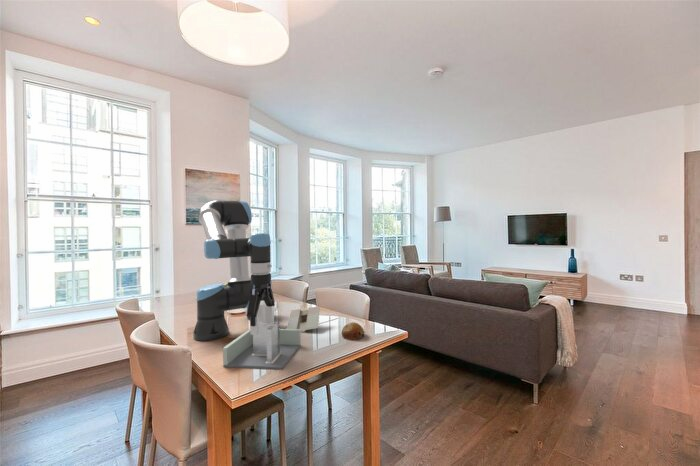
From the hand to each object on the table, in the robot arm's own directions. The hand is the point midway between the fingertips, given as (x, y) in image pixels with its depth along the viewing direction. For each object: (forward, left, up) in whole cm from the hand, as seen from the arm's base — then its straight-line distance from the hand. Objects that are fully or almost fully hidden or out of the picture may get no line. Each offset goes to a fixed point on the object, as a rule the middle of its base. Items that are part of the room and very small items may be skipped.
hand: (262, 328), depth 118 cm
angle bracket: (+2, -3, -10) cm, 11 cm away
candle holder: (-14, +36, -11) cm, 40 cm away
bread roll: (+33, +24, -11) cm, 42 cm away
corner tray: (+1, +1, -11) cm, 11 cm away
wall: (+7, +33, -11) cm, 36 cm away
